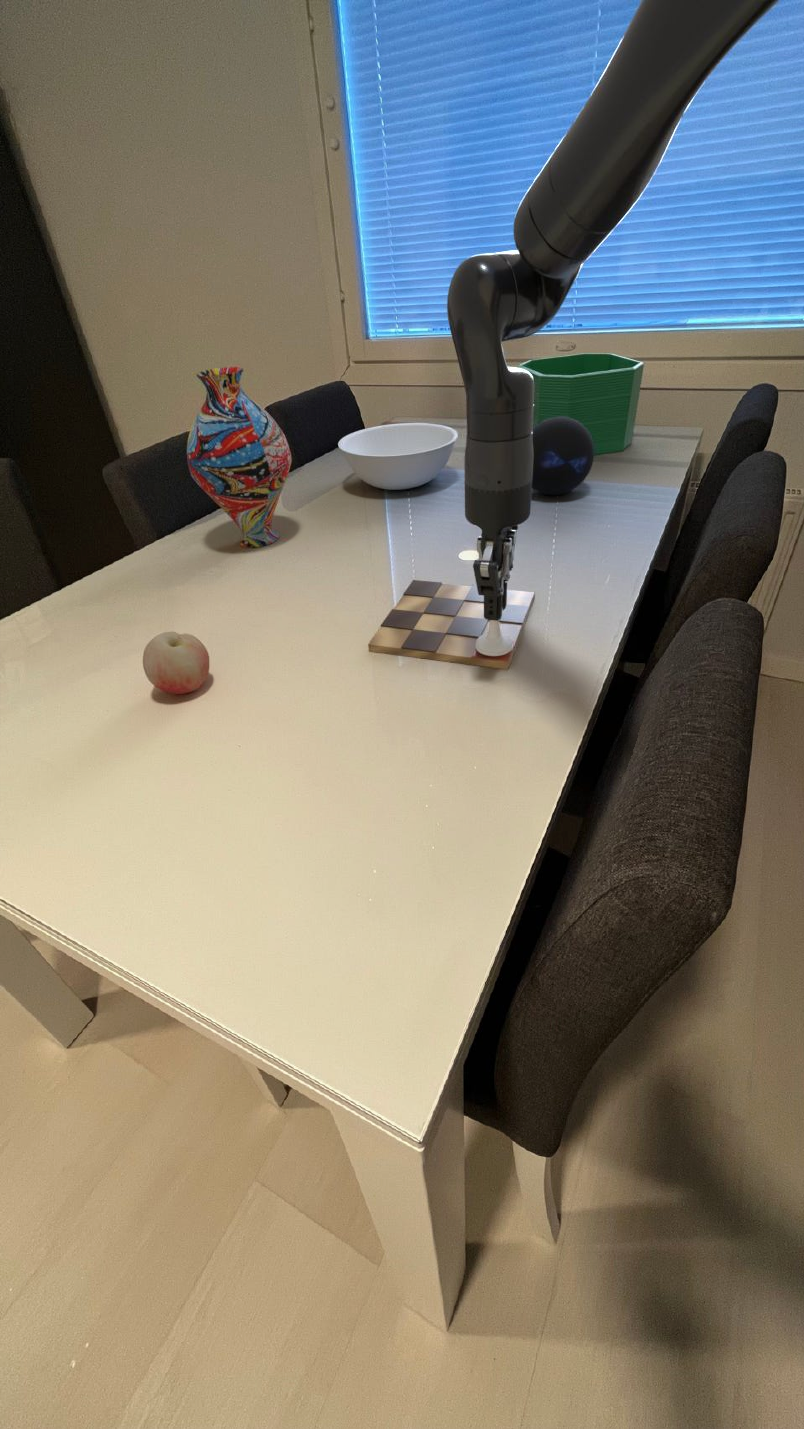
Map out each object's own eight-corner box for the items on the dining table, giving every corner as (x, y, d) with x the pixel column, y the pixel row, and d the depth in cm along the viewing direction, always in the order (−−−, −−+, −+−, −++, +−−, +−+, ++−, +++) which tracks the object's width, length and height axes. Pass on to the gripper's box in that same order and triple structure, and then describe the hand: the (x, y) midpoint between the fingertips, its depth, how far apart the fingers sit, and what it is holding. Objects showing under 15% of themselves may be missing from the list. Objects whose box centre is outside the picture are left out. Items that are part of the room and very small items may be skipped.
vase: (270, 515, 132) (237, 358, 114) (323, 534, 121) (296, 364, 103) (194, 543, 123) (144, 378, 104) (244, 567, 111) (198, 386, 93)
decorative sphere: (508, 487, 135) (511, 414, 126) (572, 478, 137) (579, 405, 127) (532, 509, 123) (537, 431, 114) (601, 499, 125) (612, 421, 116)
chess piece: (514, 638, 82) (517, 570, 76) (510, 657, 79) (513, 587, 72) (478, 635, 83) (478, 568, 77) (472, 654, 80) (472, 586, 74)
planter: (642, 448, 150) (656, 365, 138) (543, 462, 147) (549, 379, 135) (594, 424, 170) (603, 350, 158) (506, 437, 167) (509, 362, 155)
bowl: (321, 496, 140) (314, 451, 133) (381, 461, 157) (377, 420, 151) (425, 509, 128) (422, 460, 122) (477, 470, 146) (477, 426, 140)
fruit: (200, 706, 78) (182, 654, 73) (145, 703, 80) (123, 652, 75) (224, 671, 85) (209, 621, 80) (172, 669, 86) (154, 620, 81)
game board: (534, 599, 94) (535, 590, 93) (507, 669, 80) (508, 661, 79) (413, 587, 100) (413, 579, 99) (368, 651, 86) (367, 643, 85)
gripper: (519, 499, 61) (513, 644, 72) (542, 458, 71) (533, 591, 82) (448, 496, 63) (452, 637, 74) (480, 457, 73) (479, 586, 84)
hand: (495, 613), depth 78 cm, fingers closed on chess piece
